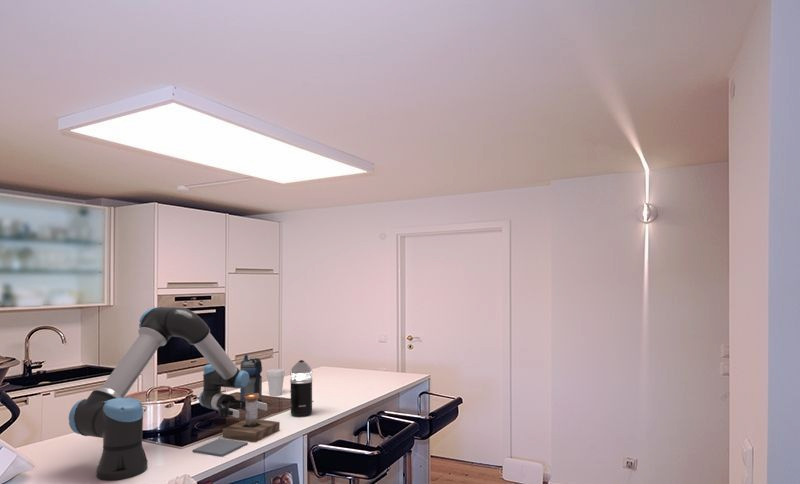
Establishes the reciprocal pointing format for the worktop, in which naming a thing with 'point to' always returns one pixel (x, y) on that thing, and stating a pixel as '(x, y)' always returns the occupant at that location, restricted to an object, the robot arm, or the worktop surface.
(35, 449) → the worktop surface
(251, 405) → the steel plug
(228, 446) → the rubber pad
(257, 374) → the beverage bottle
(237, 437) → the bore block
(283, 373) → the foam cup
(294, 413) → the black coffee grinder
